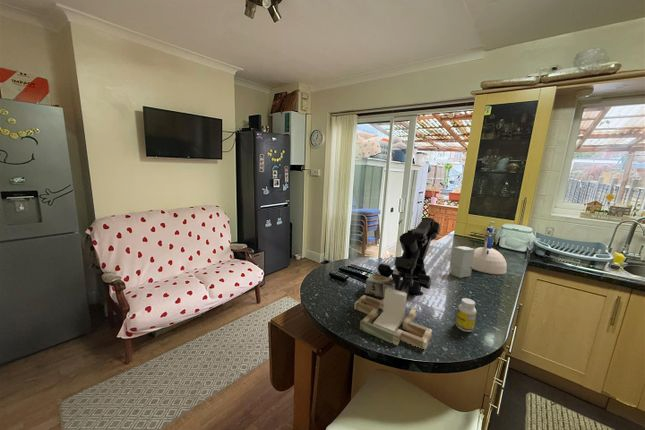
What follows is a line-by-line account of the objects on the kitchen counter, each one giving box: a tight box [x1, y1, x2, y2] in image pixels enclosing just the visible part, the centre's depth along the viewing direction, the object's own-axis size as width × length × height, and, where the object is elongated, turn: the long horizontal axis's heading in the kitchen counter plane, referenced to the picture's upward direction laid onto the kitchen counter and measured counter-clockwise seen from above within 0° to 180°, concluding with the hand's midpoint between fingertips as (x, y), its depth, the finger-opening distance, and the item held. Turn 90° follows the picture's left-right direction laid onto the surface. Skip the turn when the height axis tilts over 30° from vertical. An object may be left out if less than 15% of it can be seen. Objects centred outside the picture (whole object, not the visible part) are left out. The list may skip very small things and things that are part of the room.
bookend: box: [372, 287, 408, 333], centre depth 86 cm, size 11×7×10 cm, turn 145°
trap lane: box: [353, 294, 433, 351], centre depth 88 cm, size 21×27×3 cm
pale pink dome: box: [472, 236, 508, 275], centre depth 145 cm, size 20×21×18 cm
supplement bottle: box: [455, 297, 477, 333], centre depth 86 cm, size 5×5×10 cm
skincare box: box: [450, 246, 476, 279], centre depth 132 cm, size 8×6×15 cm
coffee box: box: [364, 272, 409, 299], centre depth 107 cm, size 9×6×16 cm
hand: (396, 296), depth 91 cm, fingers closed
